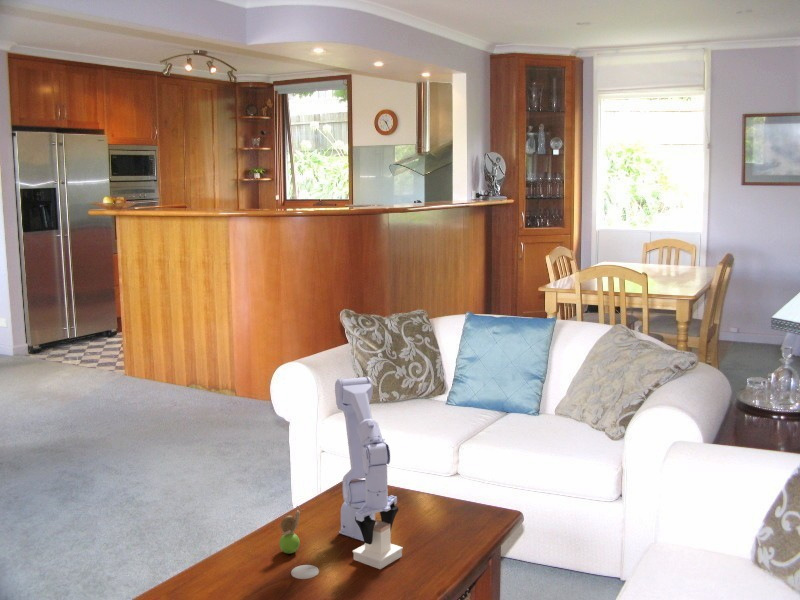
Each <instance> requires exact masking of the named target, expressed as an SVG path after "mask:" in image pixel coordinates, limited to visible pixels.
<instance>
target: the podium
mask: <svg viewBox="0 0 800 600" xmlns="http://www.w3.org/2000/svg"><path fill="white" fill-rule="evenodd" d="M403 549H404V548H403V546H400V545H397V544H393V543H391V549H390V550H389V551H387V552H385V553H383V554H382V555H380V554H377V553H374V552H372V551H369V550H366V549H365V543H364V544H362V545H361V546H359V547H357V548H355V549H353V550H352V551H351V552H352V554H353V560H354V561H357V562H358V563H362V564H364V565H367V566H370V567H373V568H376V569H379V570H382V569H383V568H385V567H387V566H388V565H390V564H391V563H393V562H395V561H396V560H398V559H400V558H402V557H403Z"/></svg>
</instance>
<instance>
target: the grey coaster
mask: <svg viewBox="0 0 800 600" xmlns="http://www.w3.org/2000/svg"><path fill="white" fill-rule="evenodd" d="M319 572H320V569H319V568H318V567H317V566H316V565H311V564H303V565H301V564H300V565H299V566H298V565H297V566H295V567H294V568H293V569H292V570H291V572H290V574H291V576H292V577H293V578H295V579H301V580H305V579H306V580H307V579H312V578H314V577H316V576H317V575H319Z"/></svg>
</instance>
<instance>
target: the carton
mask: <svg viewBox="0 0 800 600" xmlns="http://www.w3.org/2000/svg"><path fill="white" fill-rule="evenodd" d="M373 520H375V521H376V523H375V525H374V529H373V541H372V544H367V543H364V544H365V549H366V550H369V551H372V552H374V553H377V554H380V555H382V554H383V553H385V552H387V551H389V550H390V549H391V544H392V543H391V541H392V538H391V536H392V535H391V532H390V524H389V523H386V522H383V521H381V520H379V519H376V518H375V519H373Z"/></svg>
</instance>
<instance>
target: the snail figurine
mask: <svg viewBox="0 0 800 600" xmlns="http://www.w3.org/2000/svg"><path fill="white" fill-rule="evenodd" d="M296 508H297V510H295V511H294V516H292V515H286V516H285V517H283V518H282V519H281V522H280V528H281V530H282V531H281V535H282V536H281V537H280V539H279V543H278V544H279V548H280V550H281V551H282V552H283V553H285V554H294V553H295V552H297V551H298V550H299V548H300V545H301V544H300V543H301V542H300V541H301V540H300V538H299V536H298V535H297V534H296V533H294V532H295V531H296V530H297V528H298V525H299V521H300V515H301V512H300V510H299V509H301V506H299V505H296Z"/></svg>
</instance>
